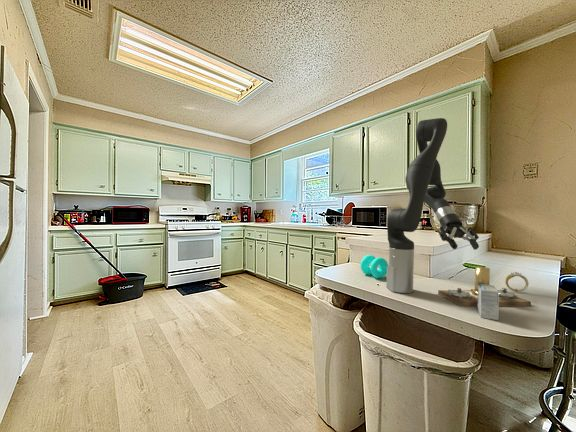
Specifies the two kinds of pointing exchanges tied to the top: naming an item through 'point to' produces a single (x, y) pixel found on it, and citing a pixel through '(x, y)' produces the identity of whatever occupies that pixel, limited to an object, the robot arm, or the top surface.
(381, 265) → the donuts
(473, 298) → the gear board
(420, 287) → the top surface
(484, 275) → the gold metal cylinder
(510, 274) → the bracelet
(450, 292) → the steel gears
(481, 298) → the medicine box
